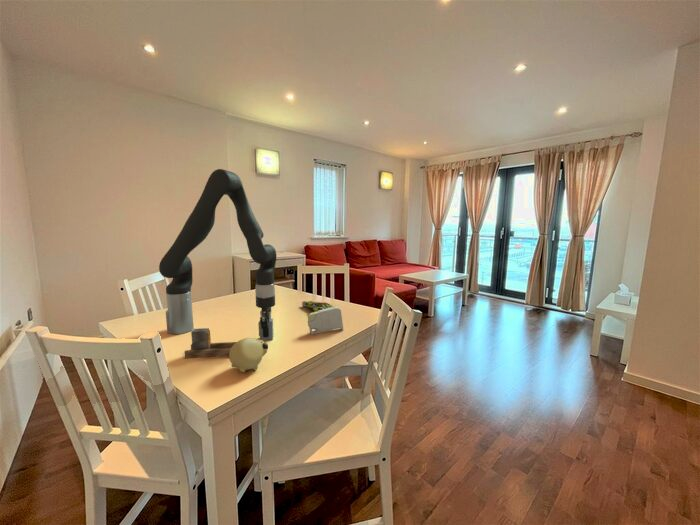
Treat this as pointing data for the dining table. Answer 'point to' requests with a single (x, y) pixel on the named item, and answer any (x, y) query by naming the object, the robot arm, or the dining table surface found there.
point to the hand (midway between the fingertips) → (266, 334)
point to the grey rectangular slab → (325, 320)
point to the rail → (212, 351)
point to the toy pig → (247, 353)
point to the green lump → (316, 305)
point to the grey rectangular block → (269, 331)
